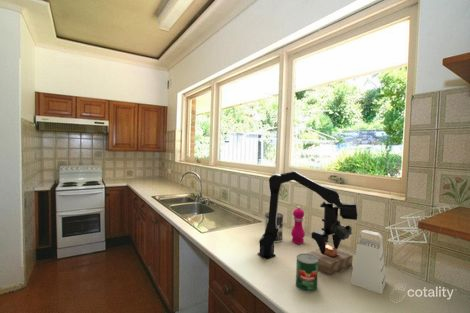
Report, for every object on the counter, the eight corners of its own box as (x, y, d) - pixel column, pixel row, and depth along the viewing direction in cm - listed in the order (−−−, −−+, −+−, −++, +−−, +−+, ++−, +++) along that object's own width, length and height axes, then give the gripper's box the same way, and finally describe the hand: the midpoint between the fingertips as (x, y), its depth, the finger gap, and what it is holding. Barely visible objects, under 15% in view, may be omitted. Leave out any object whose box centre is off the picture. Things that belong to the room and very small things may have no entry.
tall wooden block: (332, 266, 107) (332, 250, 107) (322, 261, 111) (322, 246, 111) (336, 264, 108) (336, 248, 108) (326, 259, 113) (327, 244, 112)
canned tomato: (302, 294, 88) (303, 264, 87) (291, 282, 95) (292, 254, 95) (321, 290, 90) (322, 261, 90) (309, 279, 98) (310, 252, 97)
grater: (357, 272, 103) (359, 226, 103) (386, 281, 97) (388, 232, 96) (350, 283, 95) (352, 232, 94) (381, 294, 89) (383, 239, 88)
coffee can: (281, 235, 144) (281, 212, 144) (284, 242, 134) (284, 217, 134) (263, 235, 145) (264, 211, 144) (265, 242, 134) (265, 217, 134)
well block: (329, 276, 100) (330, 264, 100) (306, 263, 110) (306, 253, 110) (352, 266, 109) (352, 255, 109) (328, 255, 119) (329, 245, 119)
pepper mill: (305, 245, 132) (306, 208, 131) (291, 243, 133) (292, 207, 132) (304, 239, 139) (305, 205, 138) (291, 238, 140) (291, 204, 139)
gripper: (333, 226, 97) (332, 264, 98) (360, 219, 107) (358, 254, 108) (311, 218, 106) (310, 254, 107) (337, 212, 116) (336, 245, 117)
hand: (329, 251), depth 110 cm, fingers open, 9 cm apart
